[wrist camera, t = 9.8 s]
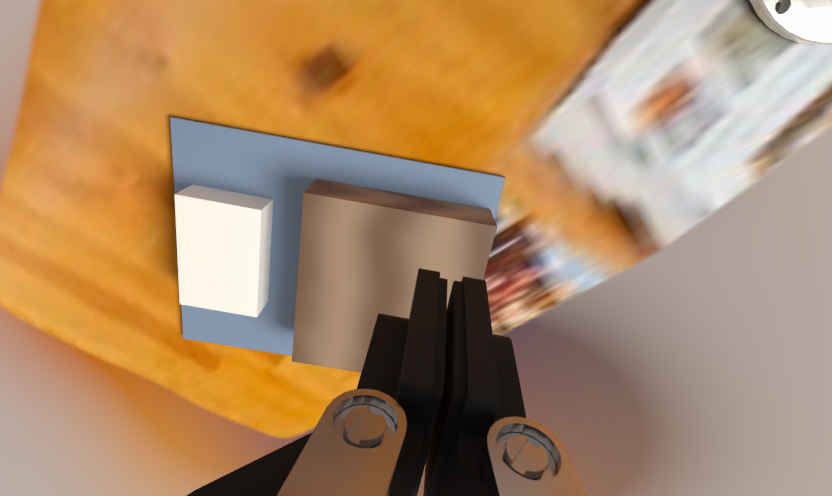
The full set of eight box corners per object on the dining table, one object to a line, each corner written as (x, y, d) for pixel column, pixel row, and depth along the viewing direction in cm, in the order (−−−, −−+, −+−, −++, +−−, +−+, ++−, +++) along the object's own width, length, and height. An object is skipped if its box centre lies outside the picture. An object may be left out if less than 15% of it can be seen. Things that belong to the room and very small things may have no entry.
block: (490, 209, 32) (497, 226, 29) (451, 358, 38) (453, 387, 34) (316, 178, 31) (303, 192, 28) (304, 334, 37) (291, 361, 34)
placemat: (504, 176, 31) (505, 178, 31) (451, 378, 39) (451, 381, 39) (173, 116, 30) (170, 117, 30) (185, 335, 38) (183, 338, 38)
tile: (174, 194, 30) (192, 184, 32) (179, 304, 33) (195, 288, 36) (261, 210, 30) (273, 199, 32) (257, 317, 34) (267, 300, 36)
